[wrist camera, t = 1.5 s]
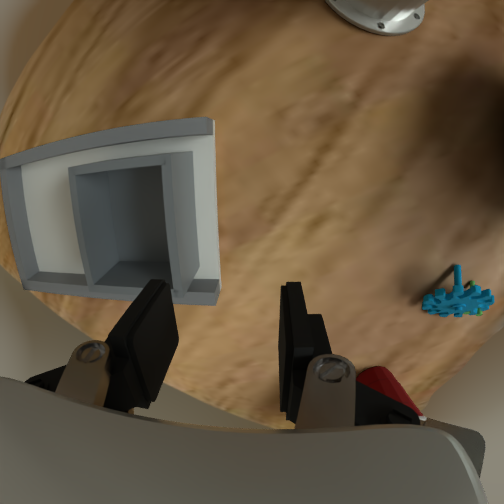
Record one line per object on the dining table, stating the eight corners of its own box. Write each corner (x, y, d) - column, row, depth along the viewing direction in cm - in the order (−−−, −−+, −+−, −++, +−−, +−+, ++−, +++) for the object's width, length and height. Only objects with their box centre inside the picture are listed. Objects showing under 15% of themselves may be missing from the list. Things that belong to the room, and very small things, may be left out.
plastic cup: (326, 402, 39) (337, 466, 28) (351, 351, 35) (373, 421, 24) (386, 402, 39) (405, 459, 28) (415, 354, 35) (447, 413, 24)
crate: (101, 160, 27) (64, 168, 21) (192, 151, 26) (170, 153, 20) (115, 264, 31) (86, 291, 25) (199, 266, 31) (183, 297, 24)
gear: (405, 309, 31) (474, 290, 22) (407, 264, 33) (470, 238, 24) (449, 326, 33) (507, 313, 24) (450, 288, 36) (504, 270, 27)
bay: (18, 155, 28) (-1, 159, 24) (214, 120, 26) (206, 116, 22) (39, 277, 34) (23, 289, 30) (221, 287, 33) (215, 305, 29)
